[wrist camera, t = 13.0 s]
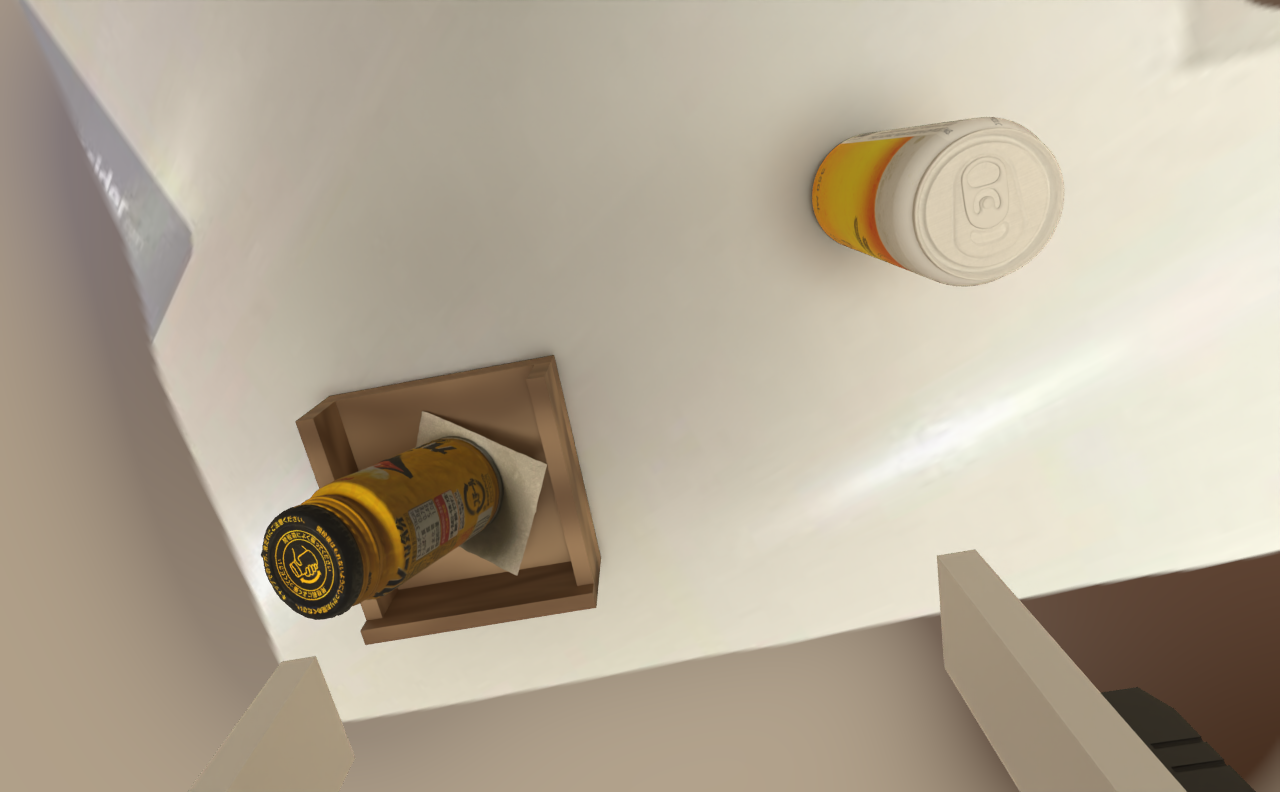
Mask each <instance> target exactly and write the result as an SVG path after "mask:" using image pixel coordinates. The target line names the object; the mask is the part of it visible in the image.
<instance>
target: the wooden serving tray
mask: <svg viewBox="0 0 1280 792" xmlns="http://www.w3.org/2000/svg"><path fill="white" fill-rule="evenodd" d="M422 411H423V412H427V413H430V414H432V415H435V416H437V417H440V418H441V419H443V420H446V421H449V422H451V423H454V424H456V425H458V426H461V427H463V428H465V429H467V430H470V431H472V432H474V433H477V434H479V435H481V436H483V437H485V438H487V439H489V440H491V441H494V442H496V443H498V444H500V445H502V446H505V447H507V448H509V449H512V450H514V451H516V452H518V453H521V454H524V455H526V456H528V457H530V458H532V459H535V460H537V461H540V462H542V463H544V464H547V467H546V471H545V475H544V479H543V483H542V488H541V491H540V494H539V498H538V502H537V507H536V513H535V515H534V518H533V522H532V526H531V530H530V534H529V538H528V540H527V544H526V548H525V552H524V555H523V559H522V562H521V564H520V568H519V572H518V575H517V576H516V575H514V574H512V573H510V572H508V571H506V570H503V569H501V568H500V567H498V566H497V565H495V564H493V563H491V562H489V561H487V560H485V559H483V558H480V557H479V556H477V555H475V554H472V553H469V552H467V551H466V550H464V549H463V548H461V547H459V546H458V547H457V548H455V549H454V550H452V551H451V552H449V553H448V554H447V555H445V556H444V557H442V558H440V559H439V560H437V561H436V562H434V563H433V564H431V565H430V566H428V567H427V568H425V569H424V570H423V571H421V572H419V573H418V574H417V575H415V576H413V577H412V578H411V579H409V580H408V581H406V582H405V583H403V584H402V585H400V586H399V587H397V588H396V589H394V590H393V591H392V592H390V593H388V594H386V595H384V596H382V597H380V598H377V599H371V600H364V601H363V602H361V603H360V604H361V606H362V609H363V612H364V615H365V618H366V620H367V621H366V622H365V624H364V626H363V627H362V629H361V634H362V637H363V639H364V642H365V645H368V644H374V643H381V642H387V641H393V640H399V639H405V638H411V637H418V636H424V635H430V634H436V633H442V632H449V631H455V630H461V629H467V628H473V627H479V626H486V625H492V624H498V623H504V622H510V621H516V620H523V619H529V618H535V617H541V616H547V615H553V614H560V613H566V612H572V611H578V610H584V609H591V608H596V605H597V594H598V584H599V574H600V563H601V556H600V552H599V547H598V543H597V539H596V534H595V530H594V526H593V521H592V517H591V513H590V508H589V504H588V500H587V495H586V491H585V487H584V482H583V478H582V474H581V469H580V465H579V461H578V456H577V452H576V448H575V444H574V439H573V435H572V431H571V426H570V422H569V418H568V413H567V409H566V405H565V400H564V396H563V392H562V387H561V383H560V379H559V374H558V370H557V366H556V361H555V357H554V355H552V356H547V357H541V358H536V359H530V360H525V361H519V362H514V363H508V364H503V365H497V366H492V367H486V368H481V369H475V370H470V371H464V372H459V373H454V374H448V375H443V376H437V377H432V378H426V379H421V380H415V381H410V382H404V383H399V384H393V385H388V386H382V387H377V388H371V389H366V390H360V391H355V392H350V393H344V394H339V395H333V396H329V397H328V398H326V399H325V400H324V401H322V402H321V403H320V404H318V405H317V406H316V407H314V408H313V409H311V410H310V411H309V412H307V413H306V414H305V415H303V416H302V417H301V418H299V419H298V420H297V421H295V422H296V425H297V428H298V430H299V433H300V436H301V439H302V442H303V444H304V447H305V450H306V453H307V456H308V458H309V461H310V464H311V467H312V470H313V472H314V475H315V478H316V481H317V483H318V486H319V489H320V488H322V487H323V486H325V485H327V484H329V483H331V482H333V481H335V480H336V479H339V478H342V477H345V476H348V475H350V474H353V473H356V472H358V471H360V470H363V469H365V468H368V467H370V466H372V465H374V464H377V463H379V462H380V461H383V460H385V459H389V458H392V457H394V456H396V455H398V454H401V453H404V452H406V451H408V450H411V449H413V448H415V447H416V444H417V437H418V433H419V426H420V421H421V416H422Z"/></svg>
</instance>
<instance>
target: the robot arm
mask: <svg viewBox="0 0 1280 792" xmlns="http://www.w3.org/2000/svg"><path fill="white" fill-rule="evenodd" d="M937 564H938V579H939V594H940V610H941V625H942V640H943V653H944V654H943V655H944V667H945V669H946V671H947V672H948V674H949V676H950V678H951V679H952V681H953V683H954V684H955V686H956V687H957V689H958V691H959V692H960V694H961V695H962V697H963V699H964V701H965V702H966V704H967V705H968V707H969V709H970V710H971V712H972V714H973V715H974V717H975V719H976V720H977V722H978V724H979V725H980V727H981V729H982V730H983V732H984V733H985V735H986V737H987V738H988V740H989V742H990V743H991V745H992V747H993V748H994V750H995V752H996V753H997V755H998V756H999V758H1000V760H1001V761H1002V763H1003V764H1004V766H1005V768H1006V770H1007V771H1008V773H1009V775H1010V776H1011V778H1012V780H1013V781H1014V783H1015V785H1016V786H1017V788H1018V789H1019V791H1020V792H1255V791H1254V790H1253V789H1252V788H1251V787H1250V786H1249V785H1248V784H1247V783H1246V782H1245V781H1244V780H1243V778H1241V777H1240V775H1239V774H1238V773H1237V772H1236V771H1235V770H1234V769H1233V768H1232V767H1231V766H1229V765H1228V766H1227V765H1226V764H1225V762H1224V759H1223V758H1222V757H1221V756H1220V755H1219V754H1218V753H1217V752H1216V751H1215V750H1214V749H1213V748H1212V747H1211V746H1210V745H1209V744H1208V743H1207V742H1203V741H1202V739H1201V736H1200V735H1199V734H1198V733H1197V732H1196V731H1195V730H1194V729H1193V728H1192V727H1191V726H1190V725H1189V724H1188V723H1187V722H1186V721H1185V720H1184V719H1183V718H1182V717H1181V715H1180V714H1179V713H1178V712H1177V711H1176V710H1174V709H1173V708H1172V707H1170V706H1168V705H1167V704H1165V703H1163V702H1162V701H1160V700H1158V699H1156V698H1155V697H1153V696H1151V695H1150V694H1148V693H1146V692H1145V691H1143V690H1141V689H1140V688H1138V687H1136V688H1130V689H1123V690H1116V691H1109V692H1102V693H1100V692H1099V691H1098V690H1097V688H1096V687H1095V686H1094V685H1093V684H1092V683H1091V682H1090V680H1089V679H1088V678H1087V677H1086V676H1085V675H1084V674H1083V672H1082V671H1081V670H1080V669H1079V668H1078V667H1077V666H1076V664H1075V663H1074V662H1073V661H1072V660H1071V659H1070V658H1069V656H1068V655H1067V654H1066V653H1065V652H1064V651H1063V649H1062V648H1061V647H1060V646H1059V645H1058V644H1057V643H1056V641H1055V640H1054V639H1053V638H1052V637H1051V636H1050V635H1049V634H1048V632H1047V631H1046V630H1045V629H1044V628H1043V627H1042V626H1041V624H1040V623H1039V622H1038V621H1037V620H1036V619H1035V618H1034V616H1033V615H1032V614H1031V613H1030V612H1029V611H1028V609H1027V608H1026V607H1025V606H1024V605H1023V604H1022V603H1021V601H1020V600H1019V599H1018V598H1017V597H1016V596H1015V595H1014V593H1013V592H1012V591H1011V590H1010V589H1009V588H1008V587H1007V585H1006V584H1005V583H1004V582H1003V581H1002V580H1001V579H1000V577H999V576H998V575H997V574H996V573H995V572H994V571H993V569H992V568H991V567H990V566H989V565H988V564H987V563H986V561H985V560H984V559H983V558H982V557H981V556H980V555H979V553H978V552H977V551H976V550H970V551H963V552H957V553H951V554H945V555H939V556H937ZM354 759H355V755H354V753H353V750H352V748H351V745H350V743H349V740H348V737H347V735H346V732H345V730H344V727H343V725H342V722H341V719H340V717H339V714H338V712H337V709H336V707H335V704H334V701H333V699H332V696H331V694H330V691H329V689H328V686H327V684H326V681H325V678H324V676H323V673H322V671H321V668H320V666H319V663H318V661H317V658H316V656H314V657H308V658H302V659H295V660H289V661H283V662H281V663H280V664H279V666H278V667H277V669H276V670H275V671H274V673H273V674H272V676H271V677H270V678H269V680H268V681H267V683H266V684H265V685H264V687H263V688H262V689H261V691H260V692H259V694H258V695H257V697H256V698H255V699H254V701H253V702H252V703H251V705H250V706H249V708H248V709H247V710H246V712H245V713H244V714H243V716H242V717H241V719H240V720H239V721H238V723H237V724H236V726H235V727H234V728H233V730H232V731H231V733H230V734H229V735H228V737H227V738H226V740H225V741H224V742H223V744H222V745H221V746H220V748H219V749H218V751H217V752H216V753H215V755H214V756H213V758H212V759H211V760H210V762H209V763H208V764H207V766H206V767H205V769H204V770H203V771H202V773H201V774H200V775H199V777H198V778H197V780H196V781H195V782H194V784H193V785H192V787H191V788H190V789H189V791H188V792H339V791H340V789H341V786H342V784H343V782H344V780H345V778H346V776H347V774H348V772H349V770H350V768H351V765H352V763H353V761H354Z"/></svg>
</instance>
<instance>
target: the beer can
mask: <svg viewBox="0 0 1280 792" xmlns="http://www.w3.org/2000/svg"><path fill="white" fill-rule="evenodd" d="M1063 202H1064V182H1063V177H1062V173H1061V170H1060V167H1059V165H1058V163H1057V161H1056V159H1055V157H1054V155H1053V154H1052V153H1051V151H1050V150H1049V149H1048V148H1047V147H1046V146H1045V144H1043V143H1042V142H1041V141H1040V140H1039V139H1038V137H1037V136H1036V135H1034V134H1033V133H1032V132H1031V131H1030V130H1028V129H1026V128H1025V127H1023V126H1022V125H1019V124H1017V123H1015V122H1013V121H1009V120H1006V119H1001V118H995V117H981V118H972V119H965V120H958V121H951V122H944V123H937V124H929V125H922V126H915V127H908V128H901V129H894V130H887V131H880V132H872V133H865V134H861V135H857V136H854V137H851V138H849V139H847V140H845V141H844V142H842V143H840V144H839V145H838V146H837V147H835V148H834V149H833V150H832V151H831V152H830V153H829V154H828V155H827V157H826V158H825V159H824V161H823V162H822V164H821V165H820V167H819V169H818V171H817V174H816V176H815V180H814V184H813V190H812V203H813V209H814V213H815V216H816V218H817V221H818V223H819V224H820V226H821V228H822V229H823V230H824V231H825V233H826V234H827V235H828V236H830V237H831V238H832V239H833V240H835V241H836V242H838V243H840V244H842V245H845V246H847V247H850V248H852V249H855V250H857V251H860V252H863V253H865V254H868V255H870V256H873V257H875V258H878V259H881V260H883V261H886V262H888V263H891V264H893V265H896V266H898V267H901V268H904V269H906V270H909V271H911V272H914V273H916V274H919V275H922V276H924V277H927V278H929V279H932V280H934V281H937V282H940V283H943V284H947V285H952V286H976V285H981V284H985V283H988V282H991V281H994V280H997V279H999V278H1001V277H1003V276H1005V275H1007V274H1010V273H1012V272H1014V271H1016V270H1018V269H1019V268H1021V267H1023V266H1024V265H1026V264H1027V263H1028V262H1030V261H1031V260H1032V259H1033V258H1034V257H1035V256H1037V254H1038V253H1039V252H1040V251H1041V250H1042V249H1043V248H1044V247H1045V245H1046V244H1047V243H1048V241H1049V240H1050V238H1051V236H1052V235H1053V233H1054V231H1055V229H1056V227H1057V225H1058V222H1059V219H1060V217H1061V213H1062V209H1063Z"/></svg>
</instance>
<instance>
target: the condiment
mask: <svg viewBox="0 0 1280 792" xmlns="http://www.w3.org/2000/svg"><path fill="white" fill-rule="evenodd" d="M546 467H547V464H544V463H542V462H540V461H537V460H535V459H532V458H530V457H528V456H526V455H524V454H521V453H518V452H516V451H514V450H512V449H509V448H507V447H505V446H502V445H500V444H498V443H496V442H494V441H491V440H489V439H487V438H485V437H483V436H481V435H479V434H477V433H474V432H472V431H470V430H467V429H465V428H463V427H461V426H458V425H456V424H454V423H451V422H449V421H446V420H443V419H441V418H440V417H437V416H435V415H432V414H430V413H427V412H423V411H422V416H421V421H420V426H419V433H418V437H417V444H416V447H415V448H413V449H411V450H408V451H406V452H404V453H401V454H398V455H396V456H394V457H392V458H389V459H385V460H383V461H380V462H379V463H377V464H374V465H372V466H370V467H368V468H365V469H363V470H360V471H358V472H356V473H353V474H350V475H348V476H345V477H342V478H339V479H336V480H335V481H333V482H331V483H329V484H327V485H325V486H323V487H322V488H320V489H319V490H317V491H316V492H315V493H314V494H313V496H312V497H311V498H310V499H308V500H306V501H305V502H303V503H302V504H301V505H298V506H295V507H291V508H289V509H287V510H286V511H283V512H282V513H281V514H279V515H278V516H277V517H275V518H274V520H273V521H272V522H271V523H270V525H269V526H268V528H267V530H266V533H265V536H264V542H263V550H262V553H261V556H262V557H263V561H264V567H265V572H266V575H267V577H268V580H269V582H270V583H271V584H272V586H273V589H274V590H275V592H276V593H277V595H278V596H279V597H280V599H281V600H282V601H284V602H285V603H286V604H287V605H288V606H289V607H290V608H291V609H292V610H294V611H295V612H296V613H299V614H301V615H303V616H304V617H307V618H311V619H315V620H320V619H327V618H333V617H335V616H336V615H338V616H339V615H341V614H343V613H344V612H346V611H348V610H349V609H350V608H351V606H354V605H357V604H359V603H361V602H363V601H364V600H371V599H377V598H380V597H382V596H384V595H386V594H388V593H390V592H392V591H393V590H394V589H396V588H397V587H399V586H400V585H402V584H403V583H405V582H406V581H408V580H409V579H411V578H412V577H413V576H415V575H417V574H418V573H419V572H421V571H423V570H424V569H425V568H427V567H428V566H430V565H431V564H433V563H434V562H436V561H437V560H439V559H440V558H442V557H444V556H445V555H447V554H448V553H449V552H451V551H452V550H454V549H455V548H457V547H458V546H459V547H461V548H463V549H464V550H466V551H467V552H469V553H472V554H475V555H477V556H479V557H480V558H483V559H485V560H487V561H489V562H491V563H493V564H495V565H497V566H498V567H500V568H501V569H503V570H506V571H508V572H510V573H512V574H514V575H516V576H517V575H518V572H519V568H520V564H521V562H522V559H523V555H524V552H525V548H526V544H527V540H528V538H529V534H530V530H531V526H532V522H533V518H534V515H535V513H536V507H537V502H538V498H539V494H540V491H541V488H542V483H543V479H544V475H545V471H546Z"/></svg>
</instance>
